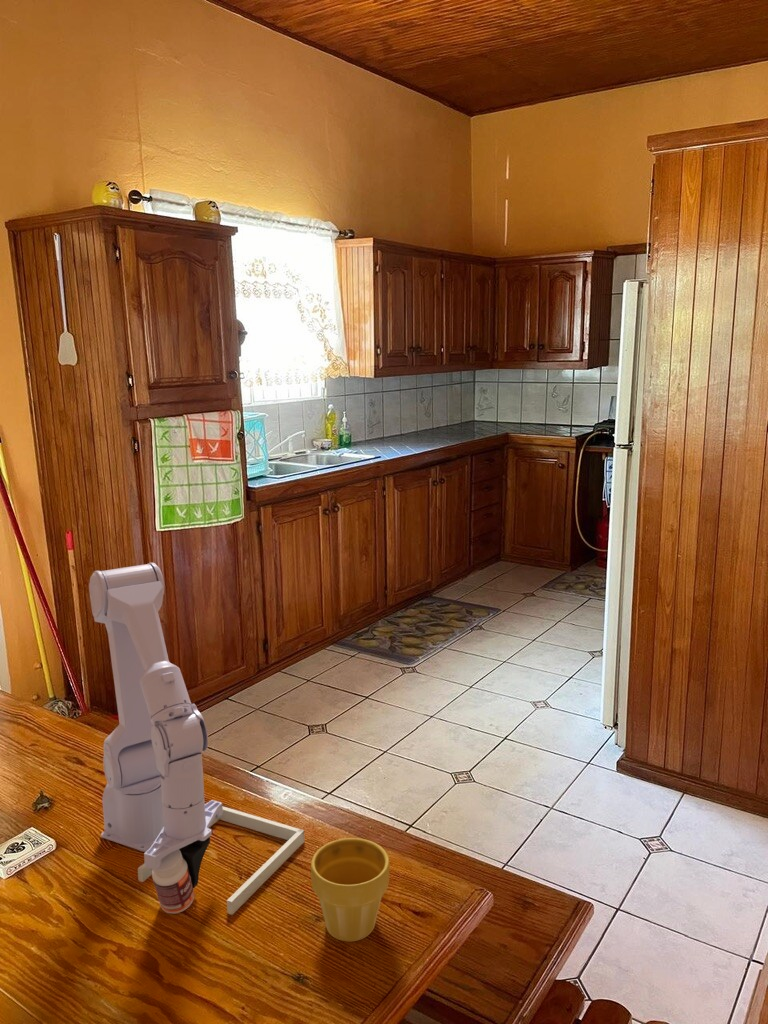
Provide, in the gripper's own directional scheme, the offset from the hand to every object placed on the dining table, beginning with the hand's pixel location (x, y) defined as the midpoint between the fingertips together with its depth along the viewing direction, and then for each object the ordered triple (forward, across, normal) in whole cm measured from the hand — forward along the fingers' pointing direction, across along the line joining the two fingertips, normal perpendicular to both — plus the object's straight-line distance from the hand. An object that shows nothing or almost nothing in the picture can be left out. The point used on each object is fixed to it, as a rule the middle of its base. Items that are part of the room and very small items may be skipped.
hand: (189, 885), depth 113 cm
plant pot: (+2, +4, -24) cm, 24 cm away
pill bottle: (+1, -2, 0) cm, 2 cm away
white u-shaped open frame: (+1, +8, 0) cm, 9 cm away
